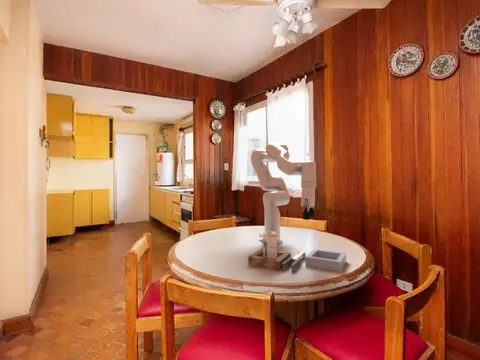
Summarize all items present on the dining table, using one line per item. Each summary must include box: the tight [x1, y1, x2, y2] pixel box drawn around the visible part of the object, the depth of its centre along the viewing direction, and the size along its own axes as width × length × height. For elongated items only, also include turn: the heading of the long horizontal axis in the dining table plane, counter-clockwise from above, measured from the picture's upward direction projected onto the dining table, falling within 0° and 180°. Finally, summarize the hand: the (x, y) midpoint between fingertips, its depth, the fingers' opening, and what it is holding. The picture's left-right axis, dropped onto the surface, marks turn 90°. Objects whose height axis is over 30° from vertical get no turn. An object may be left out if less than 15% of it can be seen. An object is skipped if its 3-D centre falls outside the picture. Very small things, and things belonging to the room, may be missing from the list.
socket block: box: [247, 248, 302, 273], centre depth 120 cm, size 21×15×4 cm
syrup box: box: [262, 230, 278, 259], centre depth 122 cm, size 6×6×14 cm
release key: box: [292, 250, 307, 264], centre depth 124 cm, size 3×13×3 cm, turn 149°
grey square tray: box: [305, 248, 347, 272], centre depth 120 cm, size 15×15×4 cm
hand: (308, 218), depth 134 cm, fingers open, 9 cm apart
